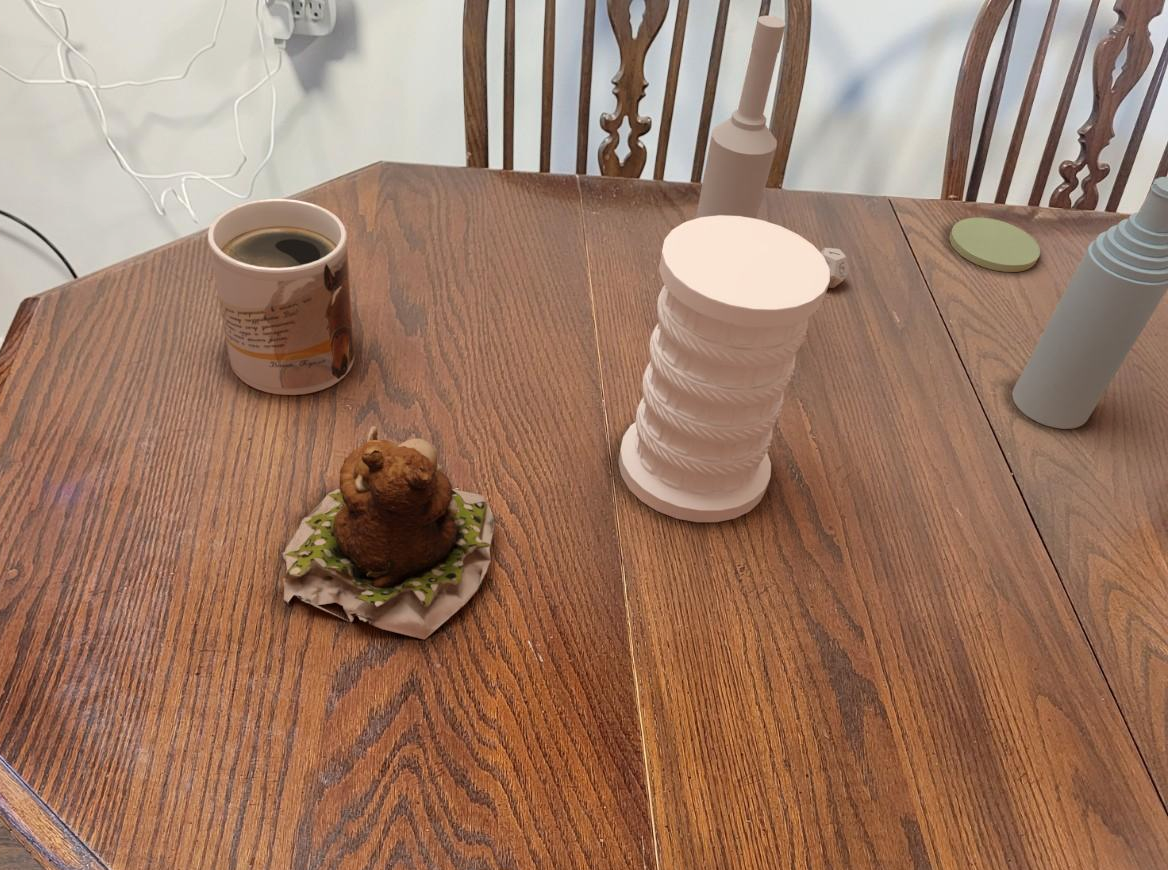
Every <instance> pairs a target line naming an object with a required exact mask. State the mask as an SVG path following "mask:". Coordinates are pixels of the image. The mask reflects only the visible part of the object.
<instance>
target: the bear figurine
mask: <svg viewBox="0 0 1168 870" xmlns="http://www.w3.org/2000/svg"><path fill="white" fill-rule="evenodd" d="M438 457H439V456H438V453H437V450H436V448H435V447H434V446H433V444H431V443H430V442H429V441H427V440H425V439H423V438H411V439H408V440H405V441H403V442H401V444H399V445H397V444H396V443H394V442H392V441H389V440H387V439H378V428H377V426H375V425H371V426H370V427H369V430H368V431H367V435H366V438H365V444H363V445H361V446H358V447H356V448H355V449H353V450H352V451H351V452H350V453H349V455H347V457H345V458H344V460H343V463H342V466H341V467H340V469H339V483H338V484H339V488H337V489H334V490H332V491H329V492H328V494H326V496H325V497H324V498H323V499H322V500H321V501H320V502H319V503H318V504H317V505H316V507H315V508H314V509H313V510H312V511H311V512H310V513H309V514H308V515H307V516H305V517H303V518H302V519H301V522H300V523H299V527H298V529H297V530H296V532H295V533H294V534H293V536H292V538H291V540H290V541H289V543H288V545H287V546H286V547H285V549H284V551H283V552H282V558H283V560H284V561H285V565H286V573H285V574H284V575H283V579H282V584H283V601H284V602H286V604H287V605H290V603H289V602H290V601H291V599H292V598H293V597H294V596H296V597H297V598H298V599H299V600H300V601H302V602H304V603H306V604H308V605H311V606H312V607H315V608H318V609H320V610H322V611H325V612H327V613H329V614H331V615H333V616H336V617H338V618H340V619H343V620H345V621H347V622H351V623H352V622H353V621H354V619H355V616H356V617H358V619H359V620H360V621H363V622H364V623H366V622H368V624H369V625H371V626H373V627H376V628H378V629H381V630H385V631H389V632H393V633H397V634H401V635H405V636H409V637H413V638H417V639H420V640H426V639H428V638H429V636H431V635H432V634H433V633H435V631H436V630H438V629H439V628H440V627H441V626H442V625H443V624H444V623H446V622H447V621H448V620H449V619H450V618H451V617H452V616H453V615H454V614H455V613H457V612H458V611H459V610H460V609H462V608H463V607H464V605H466V604H467V603H468V602H469V600H471V598H472V597H473V596H474V595H475V594H476V593H477V591H478V590H479V589H480V588H481V586H480V585H481V584H482V582H483V579H484V577H485V575H486V574H487V572H488V568H489V565H490V564H491V562H492V559H491V558H492V557H491V552H490V549H491V547H492V540H493V535H494V529H495V524H496V519H495V516H494V514H493V511H492V509H491V506H490V505H489V503H487V501H485V498H484V495H483V494H479V493H474V492H468V491H463V490H458V489H455V488H453V485H452V483H451V481H450V479H449V477H448V476H447V475H446V474H445V473H444V468H443V467H442V466H441V464H439V460H438V459H439V458H438ZM334 603H336V604H338V605H339V606H341V607H342V608H343V610H344V612H345V614H346V615H347V617H348V619H349V620H347V619H346V618H343V617H342V616H340V615H338V614H335V613H334V612H332V611H330V610H328V609H325V608H323V607H322V606H320V605H327V604H334Z"/></svg>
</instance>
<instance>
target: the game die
mask: <svg viewBox="0 0 1168 870" xmlns="http://www.w3.org/2000/svg"><path fill="white" fill-rule="evenodd" d="M819 252H820V253H821V254H822V255H823V256H824V258H825V260H826V262H827V265H828V267H829V269H830V282H829V285H828V288H827V289H829V288H830V289H831V288H832V289H834V288H836V287H837V286H838V285H839V284H841V283H842V282H843V281H844V280H845V278H846V277H847V275H848V273H849V272H850V270H851V269H850V265H849V262H848V257H847V255H846V254H845V253H844V252H843V251H842V250H841V248H833V247H824V248H823V249H822V250H821V251H819Z"/></svg>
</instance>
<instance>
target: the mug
mask: <svg viewBox="0 0 1168 870" xmlns="http://www.w3.org/2000/svg"><path fill="white" fill-rule="evenodd" d="M207 233H208V234H207V241H208V248H209V251H210V258H211V264H212V271H213V276H214V281H215V286H216V292H217V293H216V294H217V298H218V304H219V309H220V314H221V321H222V326H223V327H222V328H223V333H224V336H225V343H226V349H227V355H228V360H229V365H230V367H231V370H232V371H233V373H235V376H236V377H237V378H239V379H240V381H242V382H243V383H244V384H245V385H248V386H249V387H252V388H254V389H255V390H258V391H262V392H265V393H268V394H274V395H281V396H282V395H283V396H297V395H298V396H299V395H307V394H312V393H317V392H319V391H323V390H325V389H327V388H330V387H332V386H334V385H336V384H338V383H339V382H340V381H342V380H343V379H344V378H345V377H346V375H347V374H349V373H350V371H351V369H352V367H353V365H354V361H355V339H354V325H353V324H354V321H353V309H352V294H351V293H352V292H351V278H350V277H351V276H350V262H349V249H348V246H349V245H348V234H347V230H346V227H345V225H344V224H343V222H342V220H341V219H339V217H338V216H337V215H335V214H334V213H333V212H331V211H330V210H328V209H326V208H325V207H322V206H319V205H318V204H315V203H311V202H308V201H303V200H299V199H290V198H265V199H256V200H251V201H247V202H243V203H241V204H237V205H236V206H235V205H234V206H233V207H231V208H228V209H226V210H225V211H223V212H221V214H219V215H218V216H217V217H216V218H215V219H214V220H213V221H212V222H211V225H210V227H209V228H208V232H207Z"/></svg>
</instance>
